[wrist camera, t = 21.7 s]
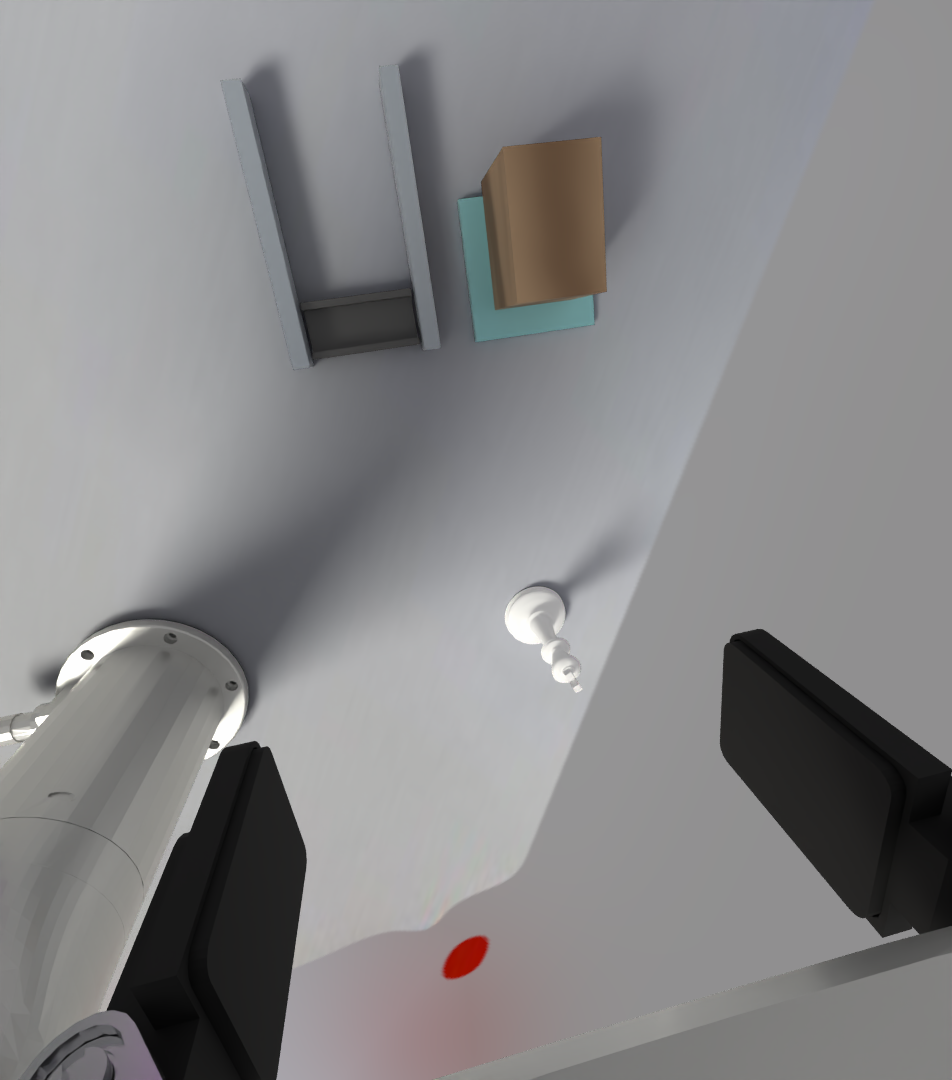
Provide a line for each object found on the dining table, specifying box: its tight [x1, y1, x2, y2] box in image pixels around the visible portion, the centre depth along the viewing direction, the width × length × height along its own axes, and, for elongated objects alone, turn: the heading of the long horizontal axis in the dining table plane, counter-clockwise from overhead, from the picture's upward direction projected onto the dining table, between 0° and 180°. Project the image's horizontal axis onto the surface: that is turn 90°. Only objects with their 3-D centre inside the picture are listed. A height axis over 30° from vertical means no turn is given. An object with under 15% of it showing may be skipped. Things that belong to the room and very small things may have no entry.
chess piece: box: [505, 586, 582, 693], centre depth 38 cm, size 5×5×10 cm
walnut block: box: [481, 137, 607, 310], centre depth 30 cm, size 5×7×6 cm
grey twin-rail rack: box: [220, 65, 441, 370], centre depth 31 cm, size 9×14×2 cm, turn 7°
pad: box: [457, 196, 595, 342], centre depth 33 cm, size 8×8×1 cm
